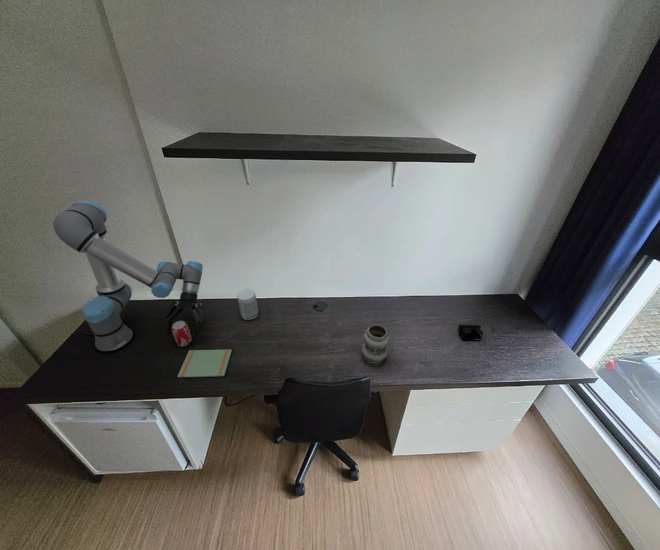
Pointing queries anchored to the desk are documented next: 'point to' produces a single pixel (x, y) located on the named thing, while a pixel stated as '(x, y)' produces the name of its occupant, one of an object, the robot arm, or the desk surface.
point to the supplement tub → (247, 304)
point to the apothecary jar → (375, 345)
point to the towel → (205, 363)
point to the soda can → (181, 333)
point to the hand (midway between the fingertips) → (181, 336)
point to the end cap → (469, 332)
